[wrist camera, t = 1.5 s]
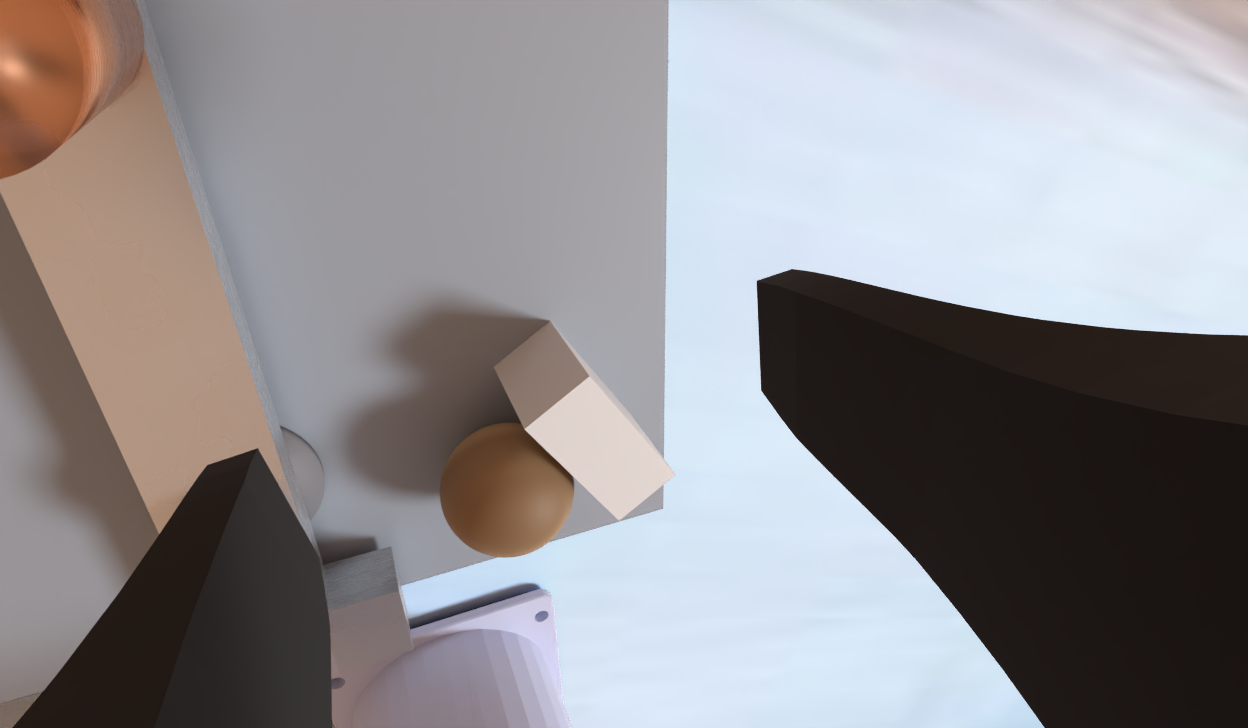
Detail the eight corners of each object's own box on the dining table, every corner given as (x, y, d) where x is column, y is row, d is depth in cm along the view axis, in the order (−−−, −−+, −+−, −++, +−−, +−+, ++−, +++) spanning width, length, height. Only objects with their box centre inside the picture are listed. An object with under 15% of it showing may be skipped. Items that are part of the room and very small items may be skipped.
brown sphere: (555, 484, 22) (595, 562, 20) (439, 515, 21) (463, 603, 18) (547, 386, 21) (589, 457, 18) (420, 414, 19) (442, 495, 17)
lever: (405, 604, 22) (438, 788, 17) (236, 655, 20) (219, 873, 16) (233, -92, 13) (199, -120, 8) (-94, -91, 11) (-377, -125, 7)
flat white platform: (649, 487, 26) (706, 573, 22) (-170, 719, 18) (-279, 900, 15) (647, -169, 16) (748, -204, 13) (-1055, -224, 9) (-1947, -343, 5)
